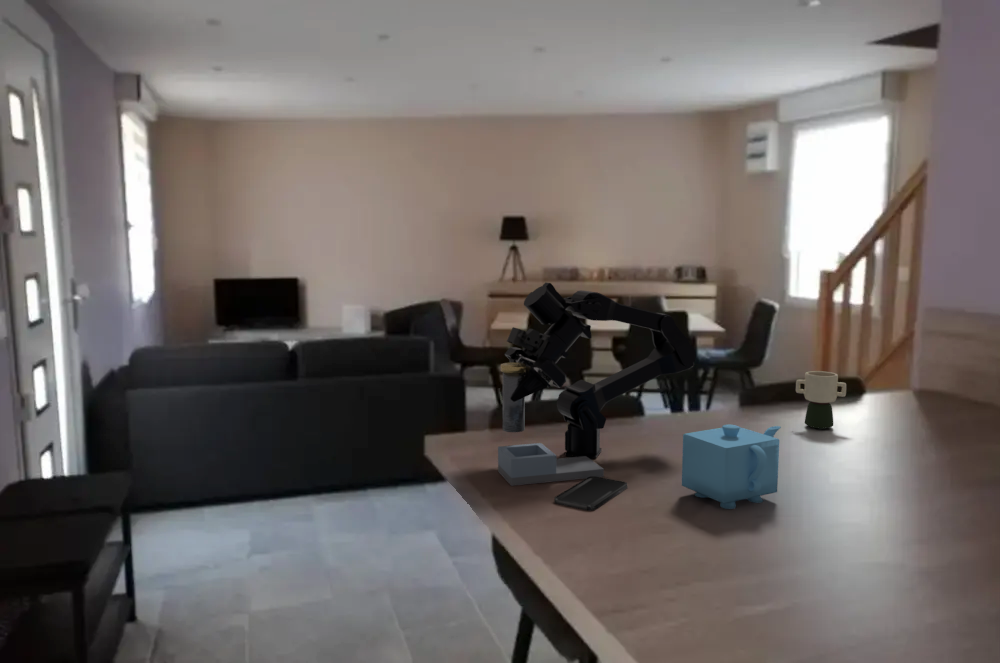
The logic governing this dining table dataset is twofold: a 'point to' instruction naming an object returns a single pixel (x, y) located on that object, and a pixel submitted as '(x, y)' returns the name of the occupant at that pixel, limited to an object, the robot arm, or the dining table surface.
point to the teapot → (731, 464)
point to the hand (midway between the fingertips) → (507, 397)
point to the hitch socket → (542, 465)
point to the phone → (591, 493)
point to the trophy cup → (820, 397)
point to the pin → (511, 380)
